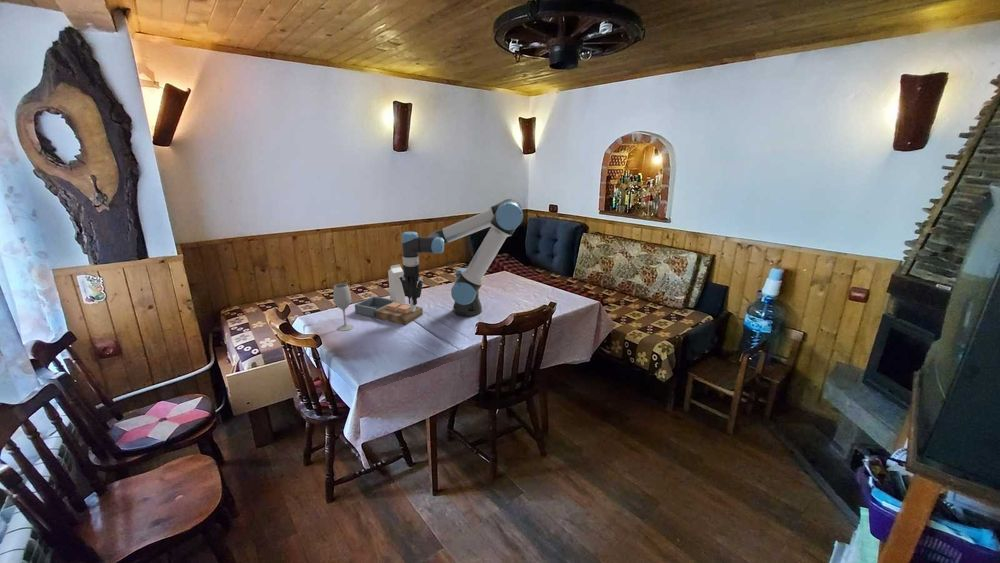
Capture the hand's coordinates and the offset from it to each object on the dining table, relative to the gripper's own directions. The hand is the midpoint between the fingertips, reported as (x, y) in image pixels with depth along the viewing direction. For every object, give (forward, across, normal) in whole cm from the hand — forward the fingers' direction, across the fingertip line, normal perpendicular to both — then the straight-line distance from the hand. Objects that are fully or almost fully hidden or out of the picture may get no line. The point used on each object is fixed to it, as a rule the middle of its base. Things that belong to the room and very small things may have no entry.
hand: (413, 310), depth 194 cm
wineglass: (+5, +23, +22) cm, 32 cm away
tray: (+5, +24, 0) cm, 25 cm away
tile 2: (+1, +5, 0) cm, 5 cm away
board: (+5, +8, 0) cm, 10 cm away
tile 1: (+1, +12, 0) cm, 12 cm away
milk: (+5, +20, -14) cm, 25 cm away
